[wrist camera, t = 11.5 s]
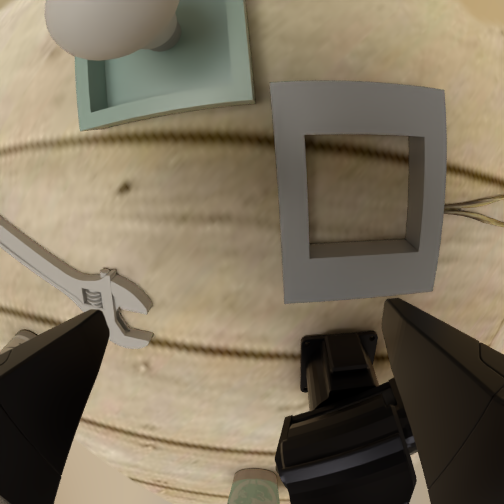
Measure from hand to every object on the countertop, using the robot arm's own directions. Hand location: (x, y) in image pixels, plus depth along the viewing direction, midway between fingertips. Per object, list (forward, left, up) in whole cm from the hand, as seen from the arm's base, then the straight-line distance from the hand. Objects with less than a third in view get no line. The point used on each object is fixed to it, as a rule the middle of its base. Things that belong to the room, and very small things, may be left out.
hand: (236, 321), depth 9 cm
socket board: (+1, -7, -13) cm, 15 cm away
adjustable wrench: (-2, +19, -14) cm, 24 cm away
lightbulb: (+12, +5, -13) cm, 18 cm away
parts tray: (+12, +5, -13) cm, 19 cm away
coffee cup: (-37, +3, -13) cm, 39 cm away
